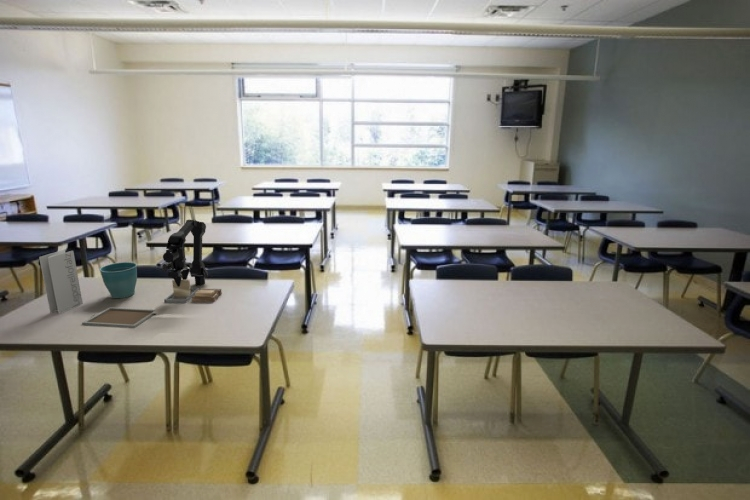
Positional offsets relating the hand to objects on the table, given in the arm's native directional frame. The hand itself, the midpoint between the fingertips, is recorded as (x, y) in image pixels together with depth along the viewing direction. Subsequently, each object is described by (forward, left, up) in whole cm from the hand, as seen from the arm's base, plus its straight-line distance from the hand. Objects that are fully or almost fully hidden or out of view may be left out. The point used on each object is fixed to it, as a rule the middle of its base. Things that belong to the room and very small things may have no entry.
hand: (181, 284), depth 238 cm
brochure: (+16, -55, -9) cm, 57 cm away
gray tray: (0, 0, -8) cm, 8 cm away
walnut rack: (+2, +14, -8) cm, 17 cm away
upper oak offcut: (+5, +14, -5) cm, 16 cm away
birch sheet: (0, 0, -8) cm, 8 cm away
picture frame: (+27, -20, -9) cm, 35 cm away
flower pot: (-4, -37, -9) cm, 38 cm away
